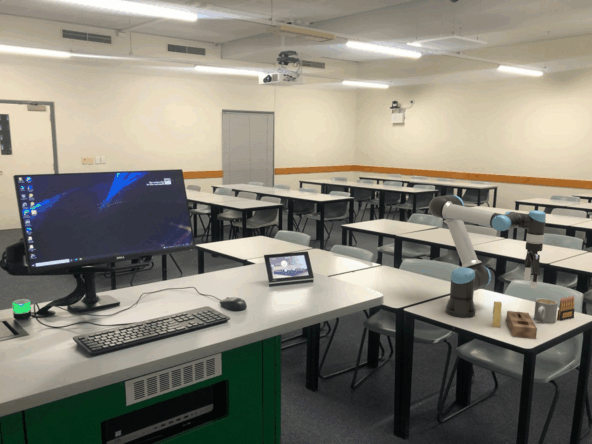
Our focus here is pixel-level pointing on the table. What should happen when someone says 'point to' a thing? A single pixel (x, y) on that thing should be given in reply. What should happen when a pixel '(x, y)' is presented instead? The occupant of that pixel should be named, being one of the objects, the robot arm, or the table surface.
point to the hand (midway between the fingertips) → (530, 284)
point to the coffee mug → (545, 310)
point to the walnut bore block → (521, 324)
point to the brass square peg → (496, 314)
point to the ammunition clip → (566, 308)
